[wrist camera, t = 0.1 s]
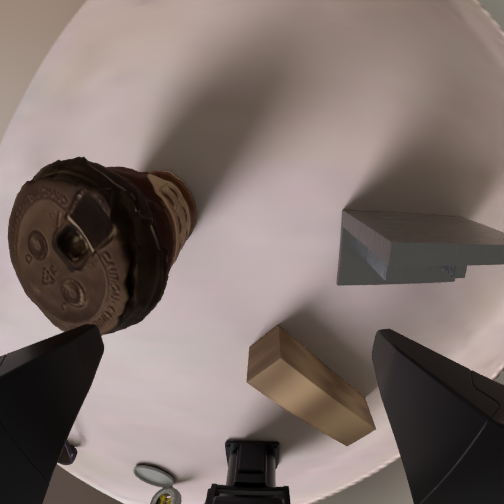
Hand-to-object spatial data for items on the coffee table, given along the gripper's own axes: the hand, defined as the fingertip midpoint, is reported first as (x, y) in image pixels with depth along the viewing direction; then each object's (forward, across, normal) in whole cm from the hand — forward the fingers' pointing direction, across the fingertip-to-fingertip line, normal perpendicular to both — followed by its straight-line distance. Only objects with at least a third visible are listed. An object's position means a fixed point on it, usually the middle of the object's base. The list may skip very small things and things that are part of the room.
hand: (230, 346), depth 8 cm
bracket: (+15, -13, +1) cm, 20 cm away
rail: (+15, -6, +14) cm, 21 cm away
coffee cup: (+15, +7, -2) cm, 17 cm away
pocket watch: (+15, +16, +39) cm, 44 cm away
